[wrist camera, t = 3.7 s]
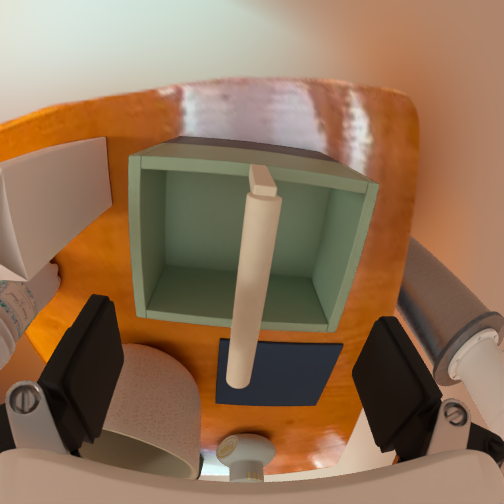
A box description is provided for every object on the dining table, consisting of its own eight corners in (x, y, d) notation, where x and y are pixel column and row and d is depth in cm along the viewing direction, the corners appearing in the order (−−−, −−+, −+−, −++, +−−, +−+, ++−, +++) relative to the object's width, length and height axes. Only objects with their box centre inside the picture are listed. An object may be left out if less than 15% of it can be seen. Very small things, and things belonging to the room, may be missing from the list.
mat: (342, 343, 37) (343, 345, 36) (315, 403, 43) (315, 405, 42) (220, 338, 35) (219, 340, 35) (215, 401, 41) (215, 403, 41)
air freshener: (244, 422, 44) (245, 472, 36) (280, 433, 47) (286, 479, 38) (211, 443, 48) (209, 487, 39) (246, 453, 51) (247, 494, 42)
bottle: (74, 286, 32) (-8, 411, 14) (42, 295, 32) (-35, 403, 14) (50, 238, 29) (-59, 349, 11) (19, 252, 29) (-76, 350, 11)
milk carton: (51, 146, 24) (-93, 205, 7) (107, 135, 24) (-49, 189, 7) (59, 209, 27) (-60, 307, 10) (113, 205, 27) (-6, 322, 10)
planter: (203, 330, 35) (190, 441, 21) (209, 407, 42) (203, 492, 28) (80, 318, 34) (31, 405, 20) (110, 395, 41) (86, 470, 28)
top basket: (342, 163, 20) (432, 217, 10) (315, 281, 24) (357, 391, 14) (160, 142, 19) (78, 177, 9) (158, 267, 23) (112, 376, 13)
